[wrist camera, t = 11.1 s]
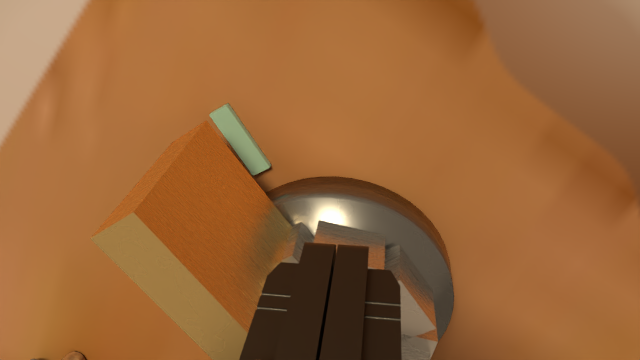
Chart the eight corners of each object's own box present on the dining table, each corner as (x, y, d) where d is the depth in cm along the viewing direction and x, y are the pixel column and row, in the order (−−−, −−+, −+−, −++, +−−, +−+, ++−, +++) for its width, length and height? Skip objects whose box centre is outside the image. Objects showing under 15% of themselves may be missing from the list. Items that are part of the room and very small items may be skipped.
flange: (465, 340, 29) (481, 439, 24) (268, 360, 32) (243, 452, 27) (427, 155, 24) (436, 231, 18) (193, 199, 27) (145, 276, 21)
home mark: (271, 164, 25) (269, 167, 25) (254, 173, 25) (253, 175, 25) (228, 102, 24) (226, 105, 23) (211, 112, 24) (209, 115, 24)
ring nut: (464, 333, 26) (485, 471, 20) (308, 388, 29) (285, 519, 23) (277, 73, 20) (227, 154, 14) (113, 180, 24) (18, 282, 18)
